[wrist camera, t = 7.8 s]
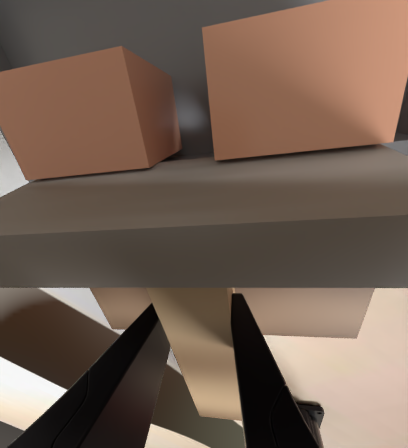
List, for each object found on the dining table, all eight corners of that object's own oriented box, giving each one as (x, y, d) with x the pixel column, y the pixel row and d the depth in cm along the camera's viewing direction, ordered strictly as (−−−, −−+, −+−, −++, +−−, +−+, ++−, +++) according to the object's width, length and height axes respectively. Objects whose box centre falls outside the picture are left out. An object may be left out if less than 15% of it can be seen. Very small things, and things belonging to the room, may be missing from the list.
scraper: (311, 365, 14) (335, 458, 10) (146, 355, 16) (122, 430, 12) (371, 140, 6) (523, 208, 3) (45, 174, 8) (-83, 239, 5)
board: (336, 297, 15) (356, 338, 13) (129, 296, 18) (112, 329, 16) (371, 155, 10) (415, 175, 8) (80, 183, 13) (43, 204, 11)
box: (398, 142, 10) (453, 158, 8) (62, 176, 13) (20, 196, 11) (506, -221, 6) (731, -482, 3) (-39, -38, 9) (-152, -92, 6)
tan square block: (393, 141, 5) (429, -21, 4) (214, 160, 6) (202, 27, 5) (327, 134, 9) (335, 49, 8) (223, 146, 10) (217, 70, 9)
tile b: (149, 167, 7) (121, 45, 5) (26, 180, 7) (-24, 76, 6) (182, 148, 11) (170, 76, 9) (100, 158, 11) (79, 92, 10)
